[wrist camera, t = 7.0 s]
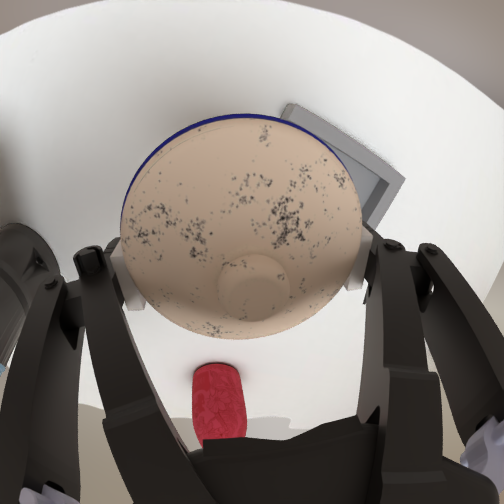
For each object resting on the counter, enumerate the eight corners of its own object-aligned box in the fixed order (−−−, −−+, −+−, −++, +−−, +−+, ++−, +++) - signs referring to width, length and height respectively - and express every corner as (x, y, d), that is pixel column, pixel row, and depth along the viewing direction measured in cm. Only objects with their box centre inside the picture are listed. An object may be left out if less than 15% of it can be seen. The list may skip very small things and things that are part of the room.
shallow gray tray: (223, 229, 36) (225, 241, 33) (288, 103, 29) (296, 103, 26) (330, 270, 42) (338, 283, 39) (391, 171, 35) (405, 178, 32)
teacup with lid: (141, 140, 15) (31, 206, 5) (282, 95, 15) (395, 87, 5) (204, 290, 21) (204, 431, 11) (318, 256, 21) (387, 380, 11)
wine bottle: (206, 354, 48) (219, 514, 23) (249, 368, 52) (277, 511, 26) (183, 379, 52) (187, 518, 26) (224, 391, 55) (240, 518, 30)
